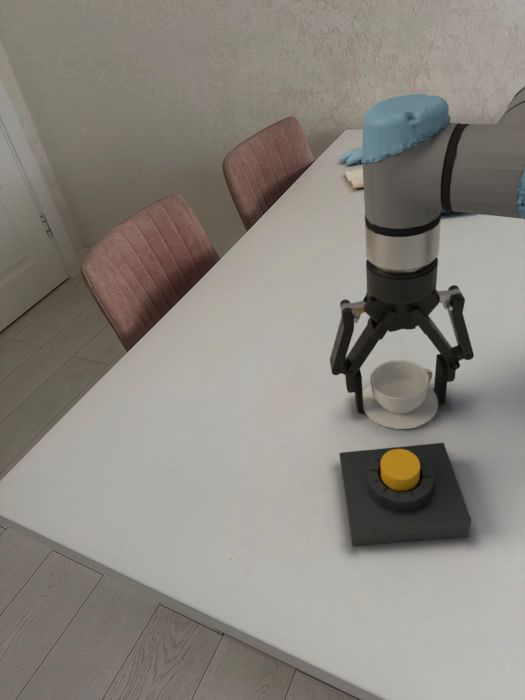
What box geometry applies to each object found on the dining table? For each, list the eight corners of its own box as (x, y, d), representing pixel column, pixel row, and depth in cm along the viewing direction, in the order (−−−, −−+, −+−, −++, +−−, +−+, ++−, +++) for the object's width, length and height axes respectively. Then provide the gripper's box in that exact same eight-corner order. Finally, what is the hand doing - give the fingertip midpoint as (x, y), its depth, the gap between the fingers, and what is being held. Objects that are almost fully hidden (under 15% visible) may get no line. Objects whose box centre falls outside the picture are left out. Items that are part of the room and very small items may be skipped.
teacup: (389, 442, 63) (390, 417, 60) (347, 395, 70) (346, 371, 67) (454, 411, 65) (457, 385, 62) (407, 368, 72) (408, 344, 69)
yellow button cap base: (441, 459, 59) (444, 432, 56) (468, 537, 52) (473, 509, 49) (341, 469, 61) (338, 442, 58) (351, 546, 53) (349, 520, 50)
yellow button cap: (414, 458, 55) (415, 446, 53) (423, 489, 52) (424, 477, 50) (377, 462, 55) (377, 450, 54) (384, 493, 52) (384, 481, 51)
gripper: (497, 226, 55) (475, 373, 69) (295, 254, 58) (313, 391, 71) (524, 259, 49) (495, 413, 63) (298, 289, 52) (317, 431, 66)
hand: (399, 401), depth 67 cm, fingers closed on teacup, 10 cm apart
